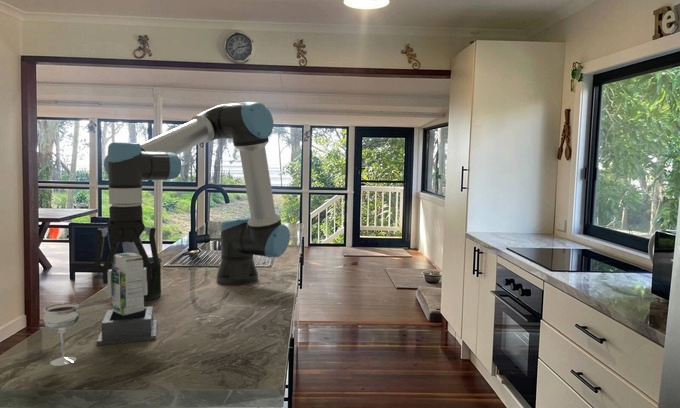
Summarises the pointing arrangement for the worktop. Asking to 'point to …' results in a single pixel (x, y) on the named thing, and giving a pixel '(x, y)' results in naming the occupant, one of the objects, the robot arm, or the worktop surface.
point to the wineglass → (61, 325)
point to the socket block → (128, 327)
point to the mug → (154, 282)
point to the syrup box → (127, 283)
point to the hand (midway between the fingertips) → (128, 294)
